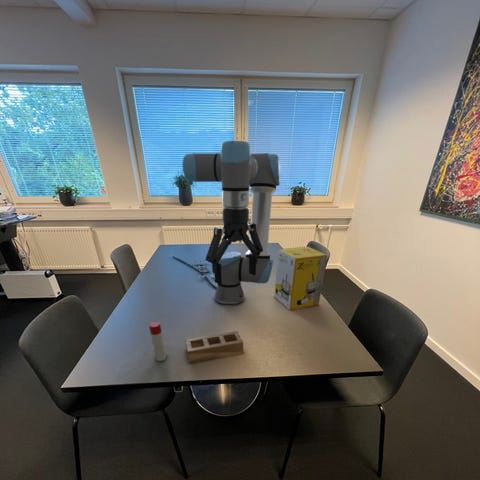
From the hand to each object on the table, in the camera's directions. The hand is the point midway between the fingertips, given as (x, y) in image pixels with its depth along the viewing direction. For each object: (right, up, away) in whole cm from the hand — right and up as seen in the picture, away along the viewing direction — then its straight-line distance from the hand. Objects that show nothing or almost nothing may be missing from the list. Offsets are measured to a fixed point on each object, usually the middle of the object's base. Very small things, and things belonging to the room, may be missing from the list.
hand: (236, 278), depth 84 cm
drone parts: (-16, +20, +88) cm, 92 cm away
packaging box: (+30, -4, +48) cm, 57 cm away
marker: (-27, -27, +8) cm, 39 cm away
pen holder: (-8, -25, +11) cm, 29 cm away
